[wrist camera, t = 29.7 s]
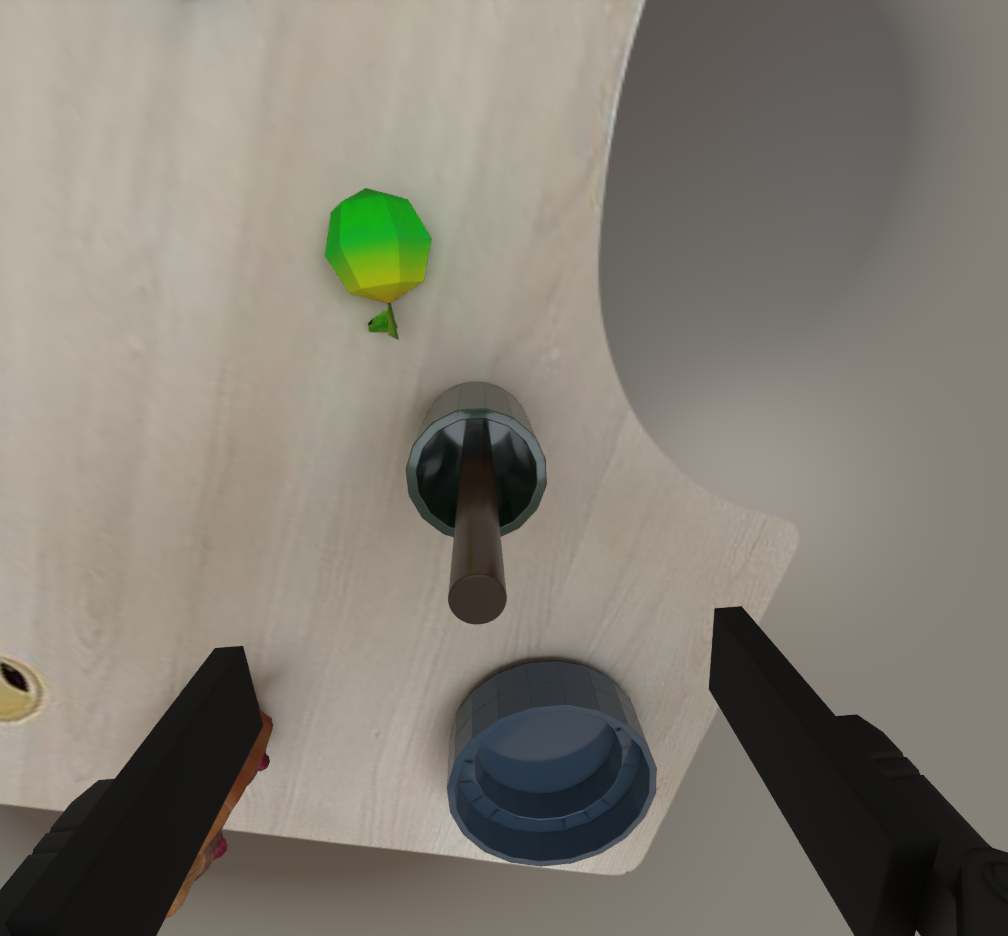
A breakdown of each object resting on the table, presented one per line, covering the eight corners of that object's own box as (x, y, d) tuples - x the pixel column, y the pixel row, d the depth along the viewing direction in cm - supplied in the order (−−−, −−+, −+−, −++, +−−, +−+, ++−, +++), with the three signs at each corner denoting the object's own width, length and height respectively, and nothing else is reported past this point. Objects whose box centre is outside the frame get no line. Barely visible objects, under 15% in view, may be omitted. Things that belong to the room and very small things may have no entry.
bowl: (636, 647, 46) (659, 696, 40) (633, 794, 51) (653, 855, 46) (442, 664, 46) (437, 716, 40) (459, 810, 51) (457, 874, 45)
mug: (237, 777, 48) (136, 978, 34) (159, 730, 46) (18, 923, 32) (337, 679, 45) (274, 853, 31) (260, 625, 43) (154, 785, 29)
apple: (341, 169, 27) (384, 344, 30) (438, 172, 31) (468, 326, 34) (289, 205, 32) (329, 352, 35) (377, 204, 36) (407, 335, 39)
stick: (489, 423, 38) (505, 571, 17) (491, 449, 39) (508, 623, 18) (462, 425, 38) (445, 576, 17) (464, 451, 39) (450, 627, 18)
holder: (527, 378, 38) (543, 404, 29) (531, 480, 41) (548, 535, 31) (417, 385, 38) (398, 414, 28) (429, 488, 40) (415, 546, 31)
